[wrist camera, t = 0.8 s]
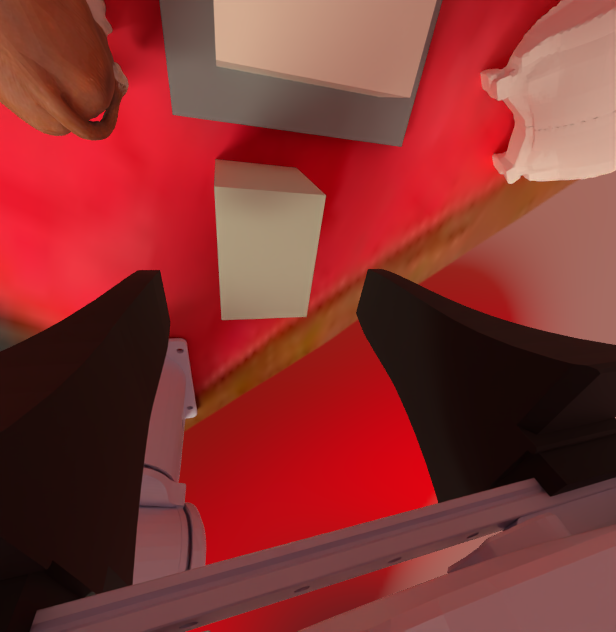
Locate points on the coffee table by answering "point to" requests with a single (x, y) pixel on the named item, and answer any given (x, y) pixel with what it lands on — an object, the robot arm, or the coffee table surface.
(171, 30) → the tower base
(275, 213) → the sage brick
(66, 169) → the coffee table surface
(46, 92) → the bull figurine
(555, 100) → the white lumpy shape
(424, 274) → the coffee table surface
